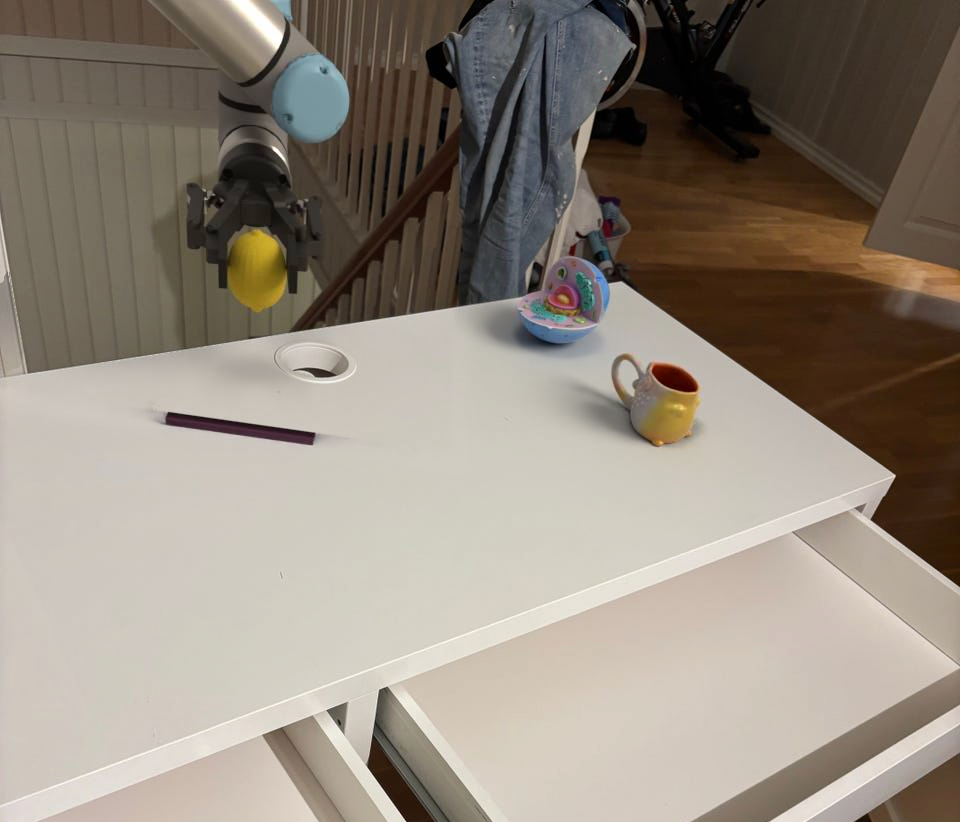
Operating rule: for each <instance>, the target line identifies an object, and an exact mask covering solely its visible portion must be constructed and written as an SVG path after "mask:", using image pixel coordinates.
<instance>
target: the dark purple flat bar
mask: <svg viewBox="0 0 960 822" xmlns="http://www.w3.org/2000/svg"><path fill="white" fill-rule="evenodd" d="M164 419H165V425H167V426H174V427H181V428H189V429H195V430H202V431H211V432H217V433H223V434H231V435H239V436H244V437H245V436H246V437H252V438H260V439H267V440H275V441H281V442H288V443H296V444H303V445H308V446H309V445H311V446H313V445H314V442H315V438H316V432H314V431H307V430H302V429H301V430H300V429H292V428H286V427H279V426H273V425H266V424H259V423H258V424H257V423H250V422H244V421H236V420H231V419H230V420H229V419H224V418H223V419H222V418H217V417H216V418H215V417H207V416H202V415H195V414H187V413H181V412H173V411H168V412H167V413H166V414H165V418H164Z"/></svg>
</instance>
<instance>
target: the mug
mask: <svg viewBox="0 0 960 822" xmlns="http://www.w3.org/2000/svg"><path fill="white" fill-rule="evenodd" d="M623 361H627V362H629V363H630V364H632V366H633V367H634V369H635V371H636V372H637V375H638V378H636V379H634V380H633V381H632V383H631V386H632V389H633V390H634V392H633V395H631V394H630V393H629V391H627V389H626V388H625V387H624V385H623V383H622V380H621V376H620V367H621V364H622V363H623ZM610 368H611V370H610V375H611V376H610V378H611V382H612V385H613V387H614V390H615V393H616V394H617V396H618V397H619V399H620V400H621V402H622V403H623V404H624V406H625V407H626V408H627V409H628V410H629V411H630V421H631V425H632V427H633V429H634V430H635V432H637V433H638V434H639V435H641V436H642V437H644V438H646V439H647V440H648V441H650V442H651V443H652V444H653V445H654V446H657V447H662V446H663V445H664V444H672V443H676V442H678V441H680V440H682V439H683V438H684V437H690V436H691V435H692V431H691V430H692V428H693V425H694V422H695V418H696V415H697V410H698V407H699V405H700V403H701V399H700V397H699V394H700V391H701V386H700V384H699V383H698V381H697V379H696V378H695V377H694V375H692V374H691V373H690V372H688V371H687V370H686V369H684V368H683V367H681V366H679V365H676V364H672V363H668V362H655V361H649V363H648V364H647V367H646V368H645V370H644V367H643V365H642V363H641V361H640V360H639V359H638V358H637V357H636V356H635V355H633V354H631V353H628V352H627V353H621V354H619V355H618V356H617V357H616V358H614V360H613V362H612V364H611V367H610Z"/></svg>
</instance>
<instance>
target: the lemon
mask: <svg viewBox="0 0 960 822" xmlns="http://www.w3.org/2000/svg"><path fill="white" fill-rule="evenodd" d="M287 281H288V280H287V267H286V257H285V255H284V252H283V249H282V248H281V246H280V245H279V243H278V242H277V241H276V239H274V238H273V237H272V236H271V235H269V234H267V233H264V232H263V231H262V230H261V229H258V228H257V229H256V228H255V229H253V230H252V231H248V232H245V233H243V234H242V235H240V236H239V237H238V238H237V239H236V240H235V241H234V242H233V243H232V245H231V247H230V250H229V251H228V272H227V283H228V285H229V288H230V290H231V292H232V295H234V297H235V299H236V300H237V301H239V302H240V303H241V304H242V305H243V306H246V307H248V308H250V309H251V310H252V311H253V312H254V313H261V312H262V311H263V310H264V309H268V308H270V307H272V306H274V305H275V304H277V303H278V301H279V300H280V299H281V298H282V296H283V295H284V292H285V289H286V286H287Z"/></svg>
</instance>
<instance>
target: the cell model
mask: <svg viewBox="0 0 960 822" xmlns="http://www.w3.org/2000/svg"><path fill="white" fill-rule="evenodd" d="M543 288H544V289H543V290H538V291H534V292H530V293H528V294H526V295H524V296H523V297H521V298H520V299H519V300H518V302H517V304H516V305H517V306H516V309H517V312H518V316H519V320H520V321H521V323H522V324H523V326H524V327H525V329H526V330H527V331H528V332H529V333H530V334H532V335H533V336H535V337H536V338H537V339H539V340H541V341H544V342H547V343H552V344H570V343H574V342H577V341H580V340H582V339H584V338H586V337H587V336H589V335H590V334H591V333H593V331H595V330H596V328H597V327H598V326H599V325H600V324H601V322H602V321H603V319H604V318H605V316H606V314H607V311H608V308H609V305H610V302H611V301H610V300H611V289H610V285H609V283H608V280H607V278H606V277H605V275H604V273H603V272H602V270H601V269H600V268H599V267H597V266H596V264H594V263H592V262H591V261H589V260H587V259H584V258H581V257H577V256H572V255H567V256H564V257H559V258H558V259H557V260H556V261H554V263H553V264H551V266H550V268H549V270H548V271H547V273H546V276H545V280H544V287H543Z"/></svg>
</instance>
